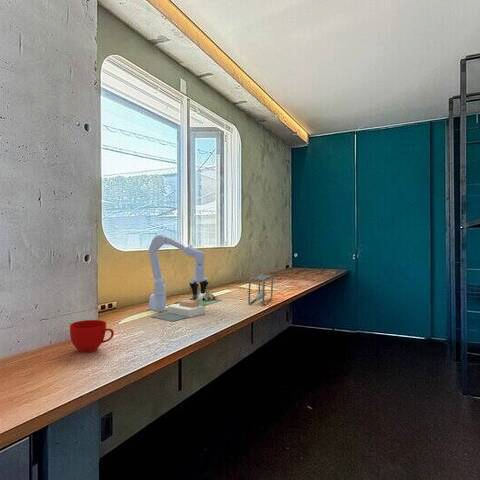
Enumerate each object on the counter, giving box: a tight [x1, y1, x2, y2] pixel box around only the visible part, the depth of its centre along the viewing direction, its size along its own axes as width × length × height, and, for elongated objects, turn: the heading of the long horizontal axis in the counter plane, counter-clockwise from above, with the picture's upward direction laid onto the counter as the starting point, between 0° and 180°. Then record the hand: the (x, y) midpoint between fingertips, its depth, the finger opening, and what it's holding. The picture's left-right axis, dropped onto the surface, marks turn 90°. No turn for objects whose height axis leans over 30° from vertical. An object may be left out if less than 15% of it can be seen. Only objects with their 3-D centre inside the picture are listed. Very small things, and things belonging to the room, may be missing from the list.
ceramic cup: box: [69, 319, 115, 353], centre depth 141 cm, size 13×17×10 cm
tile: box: [178, 298, 199, 308], centre depth 212 cm, size 9×7×2 cm
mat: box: [150, 312, 189, 323], centre depth 198 cm, size 16×12×1 cm
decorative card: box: [173, 288, 223, 307], centre depth 246 cm, size 33×8×20 cm
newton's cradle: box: [247, 273, 274, 306], centre depth 252 cm, size 30×10×18 cm, turn 164°
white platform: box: [166, 304, 206, 318], centre depth 210 cm, size 16×14×4 cm
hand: (198, 294), depth 219 cm, fingers open, 7 cm apart
